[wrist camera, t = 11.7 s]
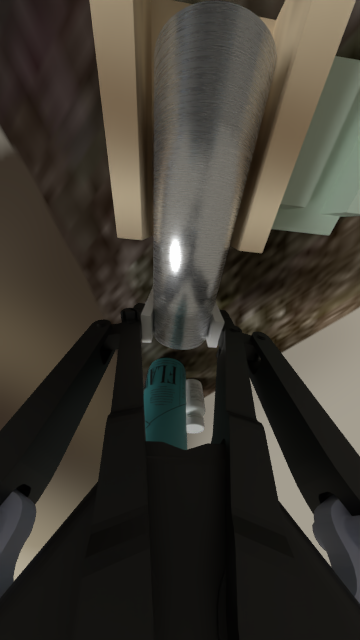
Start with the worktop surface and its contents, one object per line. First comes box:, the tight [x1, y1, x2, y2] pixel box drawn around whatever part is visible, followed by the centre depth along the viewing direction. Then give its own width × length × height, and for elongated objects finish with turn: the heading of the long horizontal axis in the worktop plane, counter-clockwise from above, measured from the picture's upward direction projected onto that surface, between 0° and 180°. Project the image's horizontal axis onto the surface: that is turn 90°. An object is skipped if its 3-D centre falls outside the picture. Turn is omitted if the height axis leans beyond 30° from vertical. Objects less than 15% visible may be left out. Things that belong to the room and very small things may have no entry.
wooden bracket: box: [90, 0, 356, 253], centre depth 10 cm, size 10×9×8 cm
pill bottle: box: [186, 379, 205, 433], centre depth 27 cm, size 4×4×8 cm
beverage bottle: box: [143, 358, 187, 450], centre depth 18 cm, size 6×7×20 cm
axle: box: [153, 1, 277, 350], centre depth 10 cm, size 14×5×5 cm, turn 174°
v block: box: [271, 56, 360, 235], centre depth 11 cm, size 9×7×4 cm
